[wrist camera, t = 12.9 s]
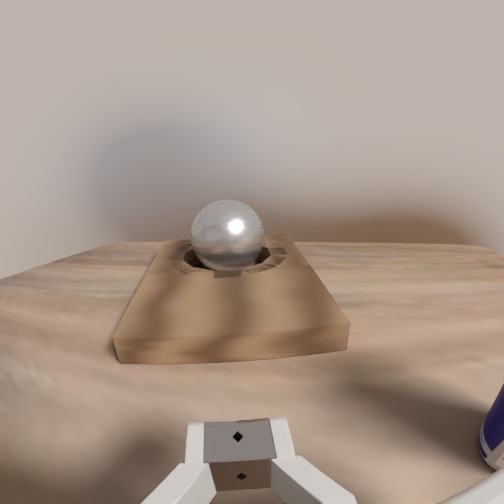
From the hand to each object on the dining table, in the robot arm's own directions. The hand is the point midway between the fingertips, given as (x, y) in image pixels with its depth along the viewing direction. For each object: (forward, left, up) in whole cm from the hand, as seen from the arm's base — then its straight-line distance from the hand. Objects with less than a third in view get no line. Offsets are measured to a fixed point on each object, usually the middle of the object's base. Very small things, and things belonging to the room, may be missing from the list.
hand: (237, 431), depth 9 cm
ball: (0, +31, -3) cm, 32 cm away
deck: (0, +25, -7) cm, 26 cm away
